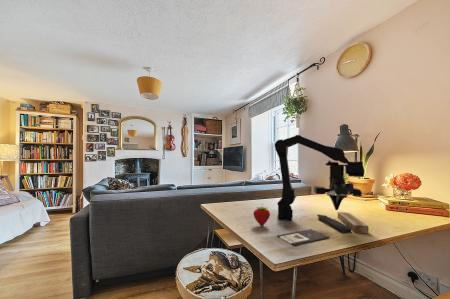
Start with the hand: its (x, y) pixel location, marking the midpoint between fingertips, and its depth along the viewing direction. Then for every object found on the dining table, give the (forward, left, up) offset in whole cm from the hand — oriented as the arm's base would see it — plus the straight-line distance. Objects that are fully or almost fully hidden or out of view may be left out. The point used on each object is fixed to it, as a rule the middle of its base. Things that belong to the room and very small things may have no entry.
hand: (336, 209), depth 94 cm
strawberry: (-33, -9, -7) cm, 35 cm away
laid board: (+7, +3, -7) cm, 11 cm away
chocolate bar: (-17, -18, -8) cm, 26 cm away
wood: (-1, +2, -8) cm, 8 cm away
